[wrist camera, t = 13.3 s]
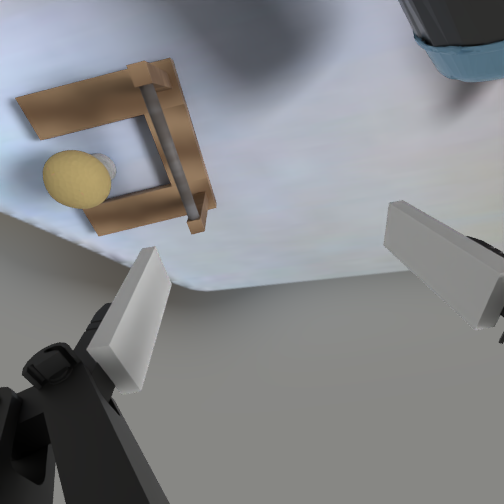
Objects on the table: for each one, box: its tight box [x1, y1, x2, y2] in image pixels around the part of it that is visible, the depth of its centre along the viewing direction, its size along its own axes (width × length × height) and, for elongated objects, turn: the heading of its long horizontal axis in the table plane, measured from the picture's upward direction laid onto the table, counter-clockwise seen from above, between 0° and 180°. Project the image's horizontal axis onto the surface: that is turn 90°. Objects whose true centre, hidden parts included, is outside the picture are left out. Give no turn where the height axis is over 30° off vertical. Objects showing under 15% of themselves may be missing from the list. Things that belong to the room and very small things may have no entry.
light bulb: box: [43, 150, 116, 209], centre depth 31 cm, size 6×6×10 cm
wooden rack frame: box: [15, 58, 216, 236], centre depth 29 cm, size 18×18×12 cm
